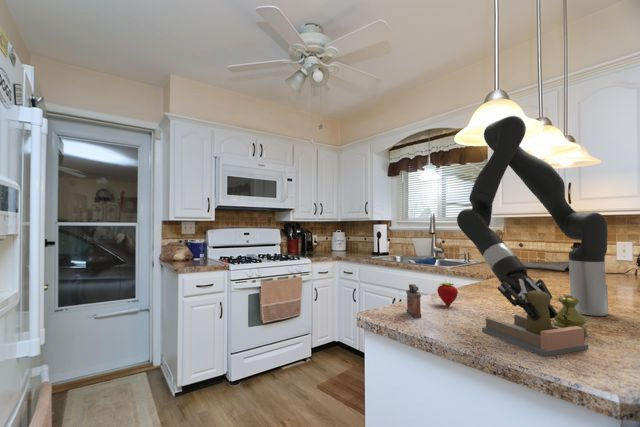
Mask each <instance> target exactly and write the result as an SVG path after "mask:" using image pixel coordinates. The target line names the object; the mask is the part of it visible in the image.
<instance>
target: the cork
mask: <svg viewBox="0 0 640 427" xmlns="http://www.w3.org/2000/svg"><path fill="white" fill-rule="evenodd" d="M527 298H528V300H529V303H531V304H532V305H533V306H534V308H535V309H536V310H537V312H538V313H539V314H540V318H539V319H537V320H535V321H533V320H532V319H531V318H530V317H529V316H528V314H527V313H526V317H527V320H526V329H525V330H526V331H529V332H532V333H534V334H537V335H540V336H541V333H540V331H545V330H552V325H553V324H552V320H551V319H550V314H549V308H548V305H549V304H551V299H552V298H550V296H549V294H547V293H545V292H542V291H535V290H534V291H529V292H527Z"/></svg>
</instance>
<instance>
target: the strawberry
mask: <svg viewBox="0 0 640 427" xmlns="http://www.w3.org/2000/svg"><path fill="white" fill-rule="evenodd" d="M444 281H445V282H441V284H439V285H438V287H437V289H436V290H437V293H438V296H439V298H440V299H441V301H442V302H443V303H444V304H445V305H446V306H447V307H450V306H451V305H452V303H454V302H455V300H456V299H457V297H458V293H459V291H458V289H457V287H456V286H454V283H450V282H447V280H446V278H445V279H444Z"/></svg>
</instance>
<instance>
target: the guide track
mask: <svg viewBox="0 0 640 427" xmlns="http://www.w3.org/2000/svg"><path fill="white" fill-rule="evenodd" d="M513 316H514V323H505V322H502V321H499V320H497V319H494V318H491V317H485V326H484V327H483V326H482V328H481V329H482V330H481V331H482V332H484V333H486V334H488V335H490V336H493V337H496V338H498V339H500V340H503V341H505V342H508V343H509V344H513V345H515V346H518V347H520V348H522V349H525V350H527V351H530V352H532V353H534V354H537V355H539V356H542V357H549V356H554V355H562V354H565V353H572V352H579V351H584V350H589V347H590V346H589V344H588V343H585V336H584V328H581V327H578V326H574V327H567V328H561V327H557V326H554V325H553V324H552V330H545V331H540V333H541V336H540V335H537V334H534V333H532V332H529V331H526V330H525V329H526V320H527V316H524V315H521V314H514V315H513Z"/></svg>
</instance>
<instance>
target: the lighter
mask: <svg viewBox="0 0 640 427" xmlns="http://www.w3.org/2000/svg"><path fill="white" fill-rule="evenodd" d="M408 287H409V288H408V289H406V291H405V292H406V314H407V315H408V316H409V317H411V318H413V319H422V314H421V297H422V294H421V293H420V292H419V286H418V285H416V284H415V283H409V284H408Z"/></svg>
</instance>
